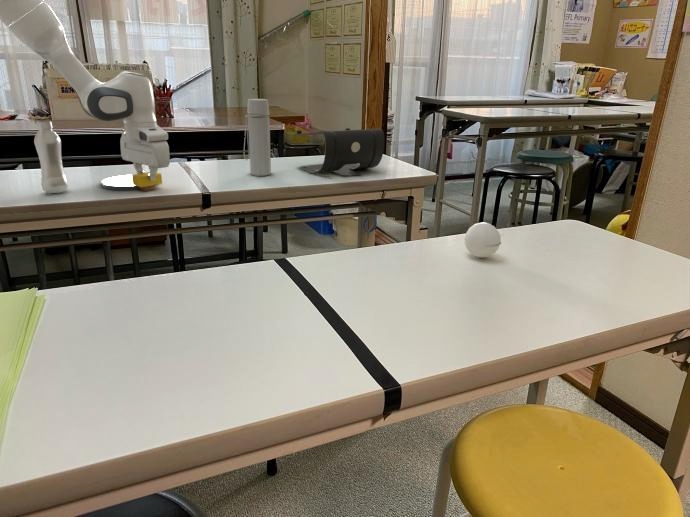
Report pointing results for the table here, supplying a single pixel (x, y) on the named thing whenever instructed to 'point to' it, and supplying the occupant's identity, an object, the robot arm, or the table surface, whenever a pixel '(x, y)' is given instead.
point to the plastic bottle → (50, 158)
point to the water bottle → (258, 137)
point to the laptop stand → (349, 151)
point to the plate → (119, 183)
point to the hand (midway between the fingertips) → (146, 178)
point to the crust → (147, 188)
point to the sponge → (145, 179)
